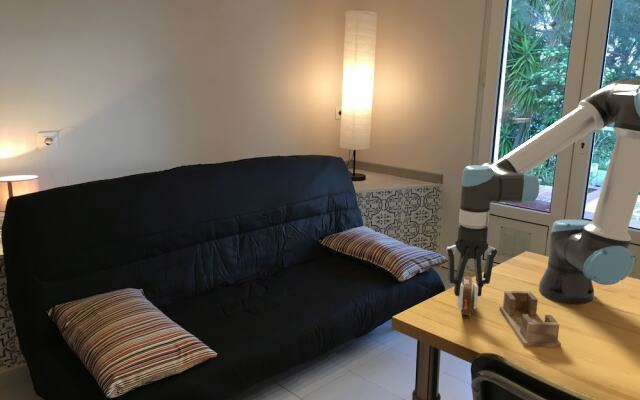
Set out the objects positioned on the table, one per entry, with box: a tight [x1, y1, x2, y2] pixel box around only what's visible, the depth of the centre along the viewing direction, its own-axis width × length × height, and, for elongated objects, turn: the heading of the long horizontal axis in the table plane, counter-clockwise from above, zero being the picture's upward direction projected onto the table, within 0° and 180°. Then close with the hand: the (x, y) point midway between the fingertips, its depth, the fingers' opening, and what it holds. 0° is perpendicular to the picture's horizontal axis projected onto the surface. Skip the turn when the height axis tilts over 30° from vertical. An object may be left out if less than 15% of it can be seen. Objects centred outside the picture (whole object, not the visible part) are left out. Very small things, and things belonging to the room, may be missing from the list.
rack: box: [499, 290, 562, 348], centre depth 137 cm, size 9×20×6 cm, turn 178°
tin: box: [460, 275, 473, 316], centre depth 147 cm, size 15×3×8 cm, turn 164°
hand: (466, 306), depth 142 cm, fingers open, 3 cm apart
